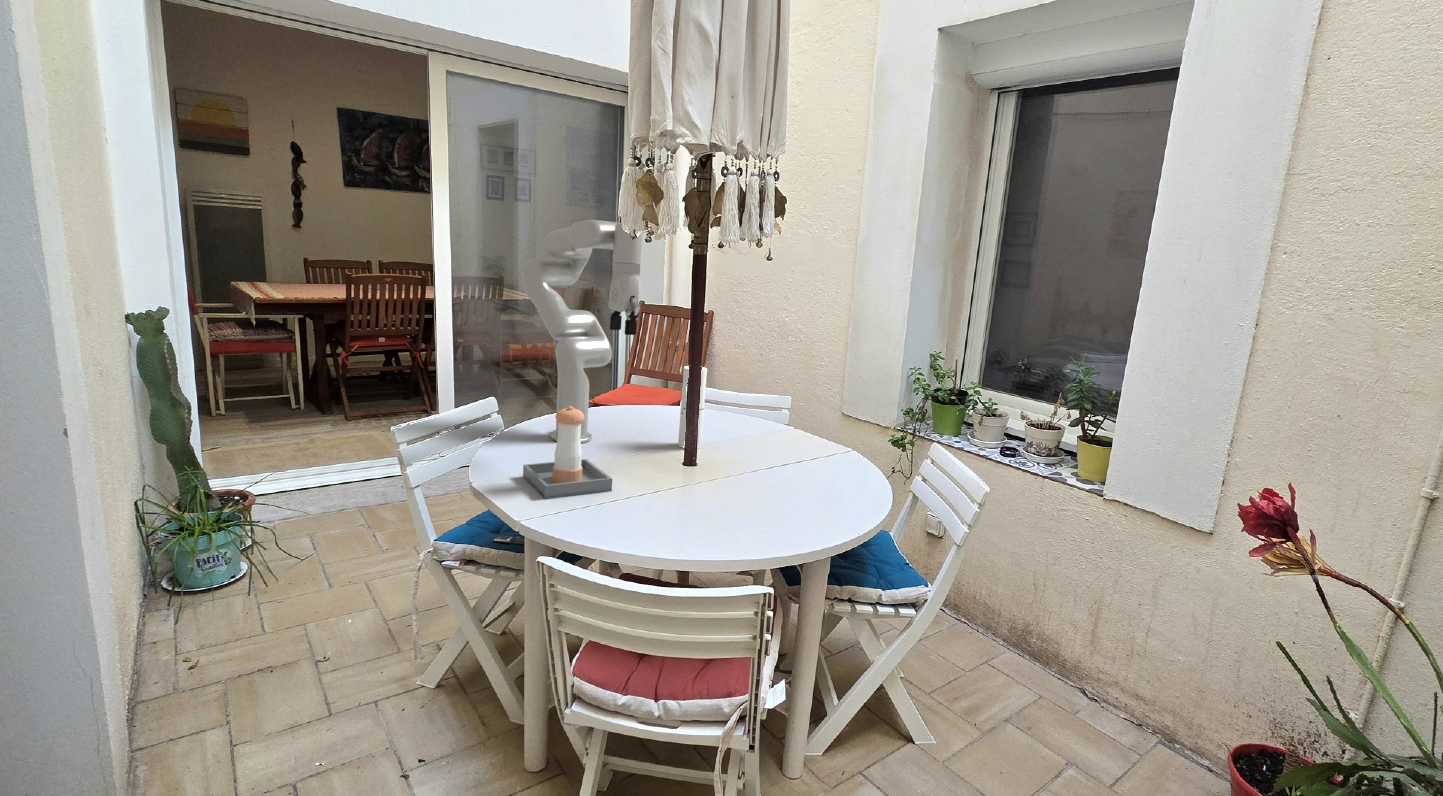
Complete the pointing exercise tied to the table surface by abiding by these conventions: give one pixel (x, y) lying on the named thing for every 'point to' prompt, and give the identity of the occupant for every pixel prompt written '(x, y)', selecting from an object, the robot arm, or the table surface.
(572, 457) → the pepper shaker
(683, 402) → the cylindrical container
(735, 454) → the table surface
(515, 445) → the table surface
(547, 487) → the tray
